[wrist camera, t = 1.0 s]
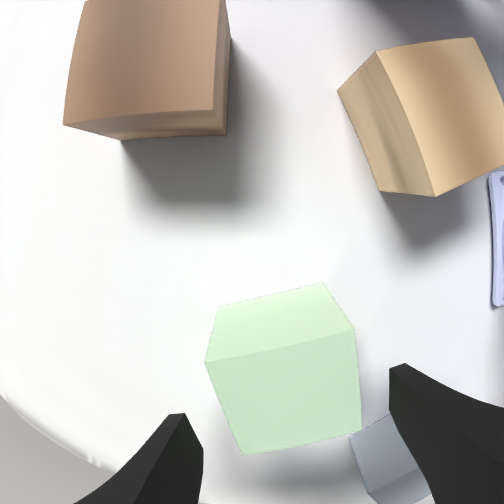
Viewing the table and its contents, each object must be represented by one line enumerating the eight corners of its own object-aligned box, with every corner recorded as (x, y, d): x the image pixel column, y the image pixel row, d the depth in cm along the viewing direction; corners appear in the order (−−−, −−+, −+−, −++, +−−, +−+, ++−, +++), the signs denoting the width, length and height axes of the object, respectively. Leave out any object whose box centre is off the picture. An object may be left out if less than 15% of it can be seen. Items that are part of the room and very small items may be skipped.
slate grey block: (415, 395, 16) (449, 446, 11) (431, 431, 17) (458, 476, 12) (348, 436, 17) (367, 493, 12) (372, 466, 18) (390, 515, 13)
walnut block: (231, 37, 12) (221, -22, 7) (226, 135, 13) (212, 110, 8) (129, 46, 12) (85, 1, 7) (120, 140, 13) (62, 124, 8)
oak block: (418, 69, 12) (473, 36, 7) (454, 159, 13) (519, 156, 8) (336, 91, 12) (375, 51, 8) (378, 190, 13) (435, 197, 9)
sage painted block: (322, 281, 14) (354, 328, 9) (335, 367, 15) (362, 429, 11) (218, 305, 15) (204, 362, 10) (244, 387, 16) (242, 455, 11)
